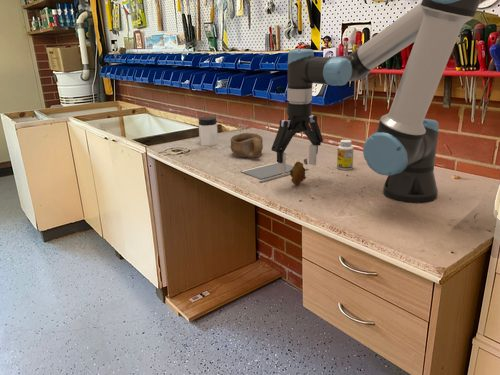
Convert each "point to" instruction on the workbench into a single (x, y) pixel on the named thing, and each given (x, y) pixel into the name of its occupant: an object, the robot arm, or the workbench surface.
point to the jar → (208, 131)
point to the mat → (266, 171)
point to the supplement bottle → (345, 155)
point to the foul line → (277, 177)
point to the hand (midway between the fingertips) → (297, 168)
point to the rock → (298, 173)
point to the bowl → (247, 145)
